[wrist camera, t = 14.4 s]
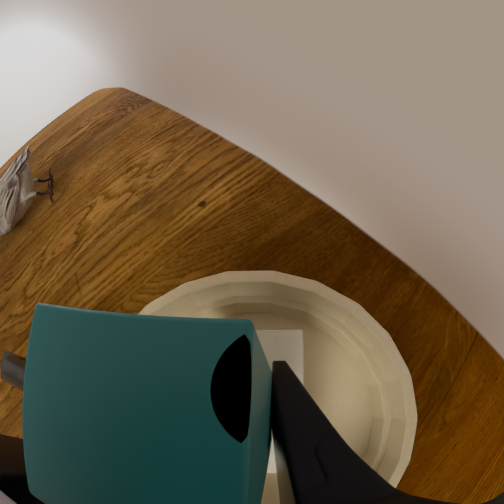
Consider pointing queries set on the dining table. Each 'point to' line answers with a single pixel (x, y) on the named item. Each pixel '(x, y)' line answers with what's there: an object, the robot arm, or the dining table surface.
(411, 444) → the pan
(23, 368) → the pan handle
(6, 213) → the decorative bird
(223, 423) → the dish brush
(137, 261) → the dining table surface
